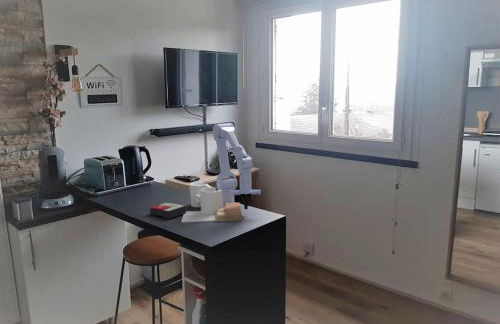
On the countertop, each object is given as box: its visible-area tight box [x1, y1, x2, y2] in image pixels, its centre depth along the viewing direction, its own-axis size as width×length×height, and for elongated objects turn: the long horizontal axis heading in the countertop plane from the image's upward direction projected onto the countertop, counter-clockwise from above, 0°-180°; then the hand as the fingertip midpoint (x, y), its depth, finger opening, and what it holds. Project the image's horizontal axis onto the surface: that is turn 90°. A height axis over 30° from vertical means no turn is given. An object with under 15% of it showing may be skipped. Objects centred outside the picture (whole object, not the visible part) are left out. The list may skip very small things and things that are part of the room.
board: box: [216, 205, 243, 222], centre depth 196 cm, size 16×12×2 cm
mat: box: [181, 210, 218, 224], centre depth 195 cm, size 16×16×1 cm
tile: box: [226, 202, 242, 214], centre depth 196 cm, size 10×7×2 cm
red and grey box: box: [149, 202, 187, 220], centre depth 200 cm, size 11×4×15 cm
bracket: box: [190, 181, 222, 214], centre depth 208 cm, size 25×10×12 cm, turn 29°
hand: (245, 208), depth 197 cm, fingers closed
